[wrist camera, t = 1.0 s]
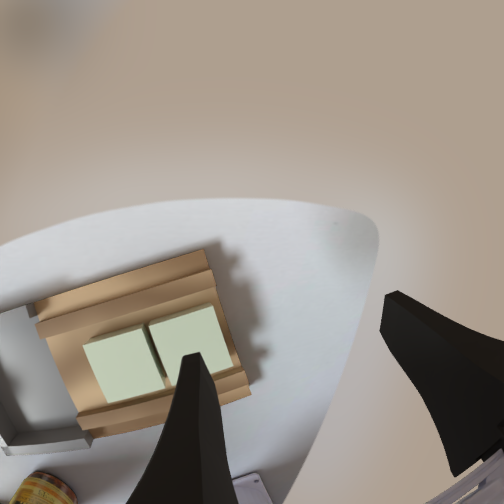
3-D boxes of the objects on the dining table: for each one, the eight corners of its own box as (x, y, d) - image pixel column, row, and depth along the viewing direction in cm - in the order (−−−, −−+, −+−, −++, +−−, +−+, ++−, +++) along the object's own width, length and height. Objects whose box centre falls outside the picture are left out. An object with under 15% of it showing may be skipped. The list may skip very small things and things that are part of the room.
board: (246, 387, 24) (255, 399, 21) (96, 430, 20) (91, 444, 18) (201, 249, 23) (205, 248, 21) (41, 300, 19) (28, 304, 17)
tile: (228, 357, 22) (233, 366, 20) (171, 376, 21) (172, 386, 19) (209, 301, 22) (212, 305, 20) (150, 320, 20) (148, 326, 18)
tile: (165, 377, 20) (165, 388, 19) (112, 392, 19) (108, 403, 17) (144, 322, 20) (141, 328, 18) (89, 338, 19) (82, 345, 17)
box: (96, 430, 20) (90, 448, 17) (17, 441, 17) (6, 455, 15) (41, 300, 19) (25, 305, 17) (-35, 325, 17) (-52, 331, 14)
